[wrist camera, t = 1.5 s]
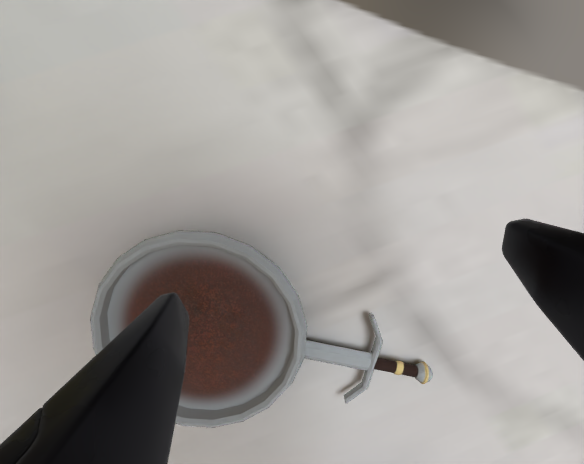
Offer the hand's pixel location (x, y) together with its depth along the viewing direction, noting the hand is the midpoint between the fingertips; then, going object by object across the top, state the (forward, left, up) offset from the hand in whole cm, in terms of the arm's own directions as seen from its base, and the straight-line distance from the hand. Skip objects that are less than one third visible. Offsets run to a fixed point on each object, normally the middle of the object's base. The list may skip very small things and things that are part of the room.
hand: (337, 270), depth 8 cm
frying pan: (-12, +1, -16) cm, 20 cm away
